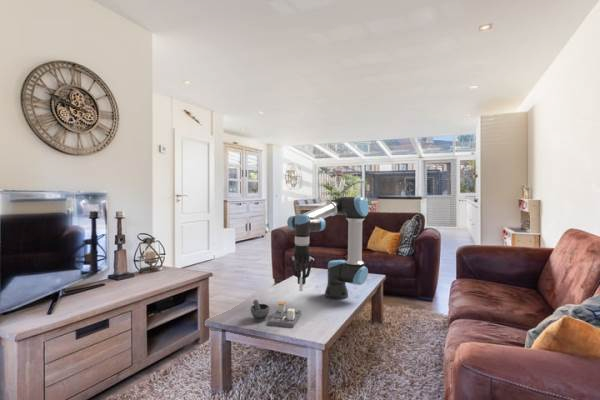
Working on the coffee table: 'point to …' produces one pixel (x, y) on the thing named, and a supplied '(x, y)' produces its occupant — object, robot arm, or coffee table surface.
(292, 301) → the coffee table surface
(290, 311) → the fader
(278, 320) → the console
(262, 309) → the mortar and pestle
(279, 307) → the fader
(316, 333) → the coffee table surface
